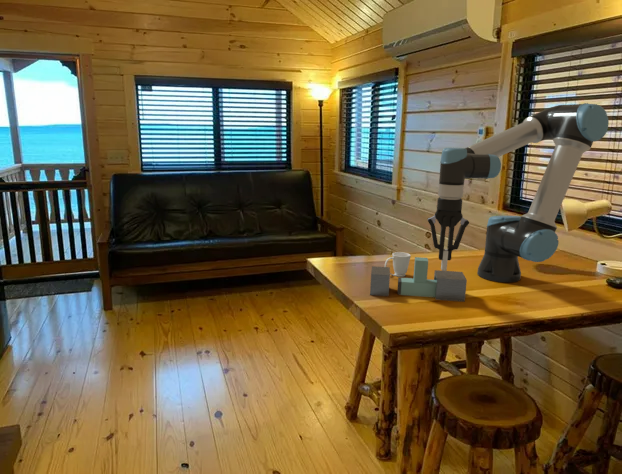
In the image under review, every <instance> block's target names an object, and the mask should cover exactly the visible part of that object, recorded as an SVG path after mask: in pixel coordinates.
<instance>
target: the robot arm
mask: <svg viewBox="0 0 622 474" xmlns="http://www.w3.org/2000/svg"><path fill="white" fill-rule="evenodd" d="M609 124H610V123H609V116H608V114H607V111H606V110H605V108H604V107H602V106H601V105H600V104H598V103H588V102H587V103H585V102H583V103H577V104H576V103H575V104H572V103H571V104H557V105H554V106H550V107H548V108H546V109H544V110H541V111H539V112H537V113H535V114H532V115H530V116H528V117H526V118H525V119H523V121H522V122H521V123H519V124H517V125H515V126H512V127H510V128H508V129H506V130H503V131H502V132H498V133H496V134H494V135H492V136H490V137H487V138H485V139H483V140H481V141H478V142H476V143H474V144H471V145H469V146H467V147H444V148H443V149H442V150H441V151H442V152H441V156H440V163H439V164H440V169H439V178H438V179H439V182H438V190H437V193H438V194H437V196H438V198H437V204H436V211H435V213H434V215H433V216H431V217H428V218H427V222H428V225H430V230H431V237H432V238H431V239H432V243H433V247H434V249H436V250H437V249H438V259H439V260H440V261H441V263H440V265H441V266H440V271H448V261H451V260H452V254H453V251H454V250H459V247H460V244H461V241H462V239H463V235H464V232H465V231H466V228H467V227H468V226H469V224H470V221H469V220H468V219H465V218H464V216H463V213H462V207H463V199H462V198H463V196H464V188H465V187H464V185H465V180H466V179H485V180H488V179H494V178H496V177H497V176H498V175H499V174H500V173H501V169H502V162H501V161H502V160H501V157H502V156H503V155H506V154H508V153H510V152H513V151H516V150H517V149H520V148H522V147H525V146H527V145H528V144H530V143H533V144H537V143H540V142H543V141H547V140H552V141H553V143H554V145H555V146H554V148H553V151H552V152H551V153H552V154H551V156H550V159H549V161H548V163H547V165H546V167H545V170H544V173H543V175H542V178H541V180H540V183H539V184H538V187H537V190H536V193H535V195H534V198H533V200H532V201H531V205H530V207H529V210H528V212H527V213H525V214H523V215H521V216H520V215H494V216H493V215H492V216H490V217H489V218H488V221H487V225H486V234H485V246H484V252H483V253H484V254H483V257H482V259H481V261H480V263H479V265H478V267H477V275H478V276H479V277H480V278H483V279H485V280H489V281H491V282H498V283H515V282H516V283H517V282H519V281H520V280H521V278H522V277H521V276H522V272H521V266H520V263H519V258H521V259H523V260H526V261H529V262H533V263H542V262H544V261H546V260H549V259H550V258H551V257H552V256H553V255H554V254H555V253H556V251H557V249H558V247H559V243H560V242H559V236H558V234H557V233H556V231H557V228H558V226H557V224H556V222H555V221H556V218H557V216H558V213H559V211H560V209H561V206H562V204H563V202H564V199H565V197H566V194H567V192H568V190H569V187H570V185H571V182H572V180H573V178H574V176H575V173H576V170H577V169H578V166H579V164H580V161H581V159H582V157H583V154H584V153H586V152H588V151H590V150H591V148H592V146H593V143H594V142H597V141H600V140H601V139H603V138H604V136H605V135H606V134H607V132H608V128H609ZM436 221H437V222H438V224H439V225H440V233H439V234H440V235H439V242H438V238H437V237H438V236H437V230H436V225H435V224H436ZM459 223H460V226H459V229H458V231H457V233H456V237H455V240H454V234H455V233H454V232H455V227H456V226H457V225H458V224H459ZM447 228H448V235H447V236H448V237H447V249H446V248H445V242H446V240H445V239H446V230H447Z"/></svg>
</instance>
